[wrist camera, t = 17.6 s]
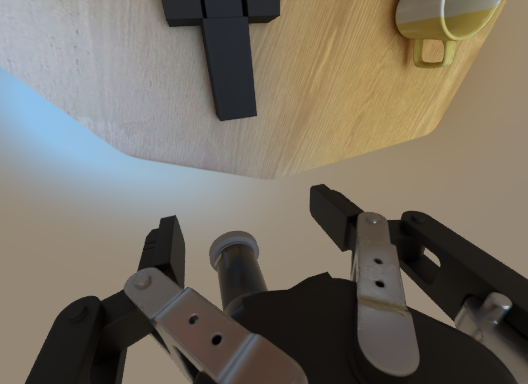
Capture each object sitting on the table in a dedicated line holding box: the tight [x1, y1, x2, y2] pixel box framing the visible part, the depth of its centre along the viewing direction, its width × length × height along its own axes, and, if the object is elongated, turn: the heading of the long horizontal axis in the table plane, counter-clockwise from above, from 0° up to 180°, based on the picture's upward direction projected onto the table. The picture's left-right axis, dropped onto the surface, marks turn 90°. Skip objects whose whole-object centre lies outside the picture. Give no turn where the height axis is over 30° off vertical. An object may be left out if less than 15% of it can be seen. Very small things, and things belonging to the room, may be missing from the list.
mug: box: [395, 0, 501, 68], centre depth 34 cm, size 14×10×10 cm
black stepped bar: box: [201, 0, 257, 121], centre depth 31 cm, size 16×6×5 cm, turn 5°
